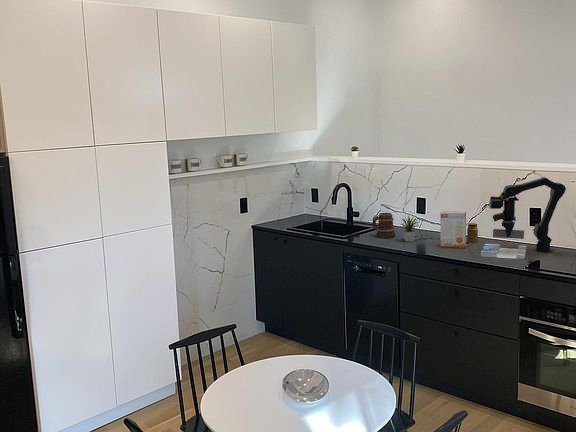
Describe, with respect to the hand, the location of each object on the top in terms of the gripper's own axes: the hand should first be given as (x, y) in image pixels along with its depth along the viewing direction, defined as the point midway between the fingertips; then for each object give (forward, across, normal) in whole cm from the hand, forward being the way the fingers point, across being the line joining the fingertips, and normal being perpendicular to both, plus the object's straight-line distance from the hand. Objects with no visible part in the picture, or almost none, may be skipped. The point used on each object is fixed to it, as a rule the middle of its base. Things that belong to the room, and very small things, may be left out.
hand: (508, 236), depth 330 cm
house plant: (+10, -15, -59) cm, 61 cm away
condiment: (+10, -17, -22) cm, 29 cm away
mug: (+10, -25, -78) cm, 82 cm away
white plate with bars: (+9, +5, -2) cm, 11 cm away
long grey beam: (+1, 0, 0) cm, 1 cm away
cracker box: (+10, -7, -31) cm, 33 cm away
